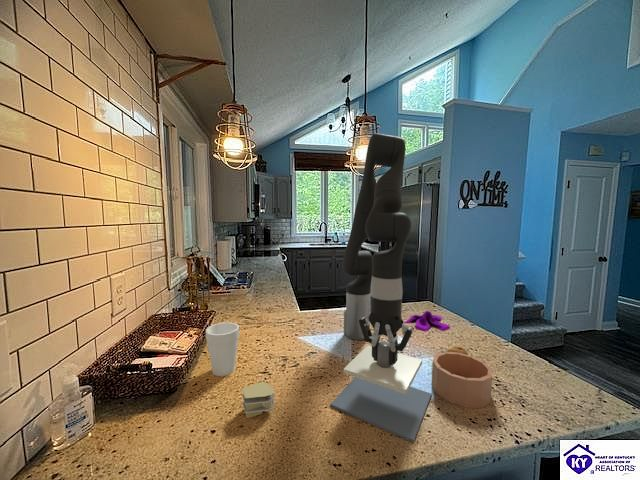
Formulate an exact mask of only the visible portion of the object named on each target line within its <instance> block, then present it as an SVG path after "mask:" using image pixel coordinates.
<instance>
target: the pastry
mask: <svg viewBox="0 0 640 480" xmlns="http://www.w3.org/2000/svg"><path fill="white" fill-rule="evenodd" d="M446 352H457V353H462V354H466V355H469V353H468V352H467V349H465V348H463V347H461V346H453V347H451V348H450V349H448V350H446Z"/></svg>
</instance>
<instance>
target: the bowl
mask: <svg viewBox="0 0 640 480" xmlns="http://www.w3.org/2000/svg"><path fill="white" fill-rule="evenodd" d="M431 364H432V368H431V369H432V370H431V386H432V388H433V390H434V391H435V393H436V394H437V395H438V396H440V397H442V398H443V399H444V400H445V401H446V402H449V403H452V404H454V405H458V406H460V407H464V408H473V409H474V408H475V409H477V408H479V409H482V408H483V407H486V406H487V405H490V404H491V402H492V401H491V399H492V386H493V385H492V384H493V369H492V367H490V366H489V364H488V363H486V362H485V361H483V360H481V359H479V358H477V357H475V356H473V355H469V354H468V355H466V354H462V353H457V352H447V351H443V352H441V353H437V354H434V357H433V359H432V363H431Z"/></svg>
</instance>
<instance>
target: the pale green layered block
mask: <svg viewBox="0 0 640 480" xmlns="http://www.w3.org/2000/svg"><path fill="white" fill-rule="evenodd" d="M241 390H242V393H241V395H242V399H243V401H242V406H243V409H244V414H245V416H246V418H247V419H249V418H252V417H255V416H258V415H262V414H263V412H267V411H271V410H272V409H273V408H274V407H275V404H276V402H275V400H274V398H275V396H276V395H275V394H274V393H275V388H274V387H272V386H271V385H270V384H269V383H268V382H266V381H261V382H257V383H255V384H254V383H253V384H250V385H249V386H246V387H244V388H241Z"/></svg>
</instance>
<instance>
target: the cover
mask: <svg viewBox="0 0 640 480" xmlns="http://www.w3.org/2000/svg"><path fill="white" fill-rule="evenodd" d="M390 350H391V348H390V343H389V342H387V341H379V343H378V344H377V361H374V358H372V345H369V344H367V345H366V347H364V348H363V349H362V350H361V351H360V352H359V353H358V354H357V356H355V357H354V358H353V359H351V361H350V362H349V363H348V364H347V365H346V366H345V367H344V368H343V372H342V373H343V374H345V375H349V376H351V377H357V378H360V379H362V380H365V381H368V382H371V383H374V384H377V385H380V386H383V387H386V388H388V389H391V390H394V391H397V392H400V393H403V394H406V393H407V391H408V389H409V387H412V383H413V382H414V379H415V378H416V376H417V374H418V372H419V371H420V368H421V366H422V365H423V359H421V358H418V357H417V358H416V357H413V356H410V355H405V354H403V353H399V352H398V356H397V362H396V363H395V364H394V365H393V366H391V365H389V361H390Z"/></svg>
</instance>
